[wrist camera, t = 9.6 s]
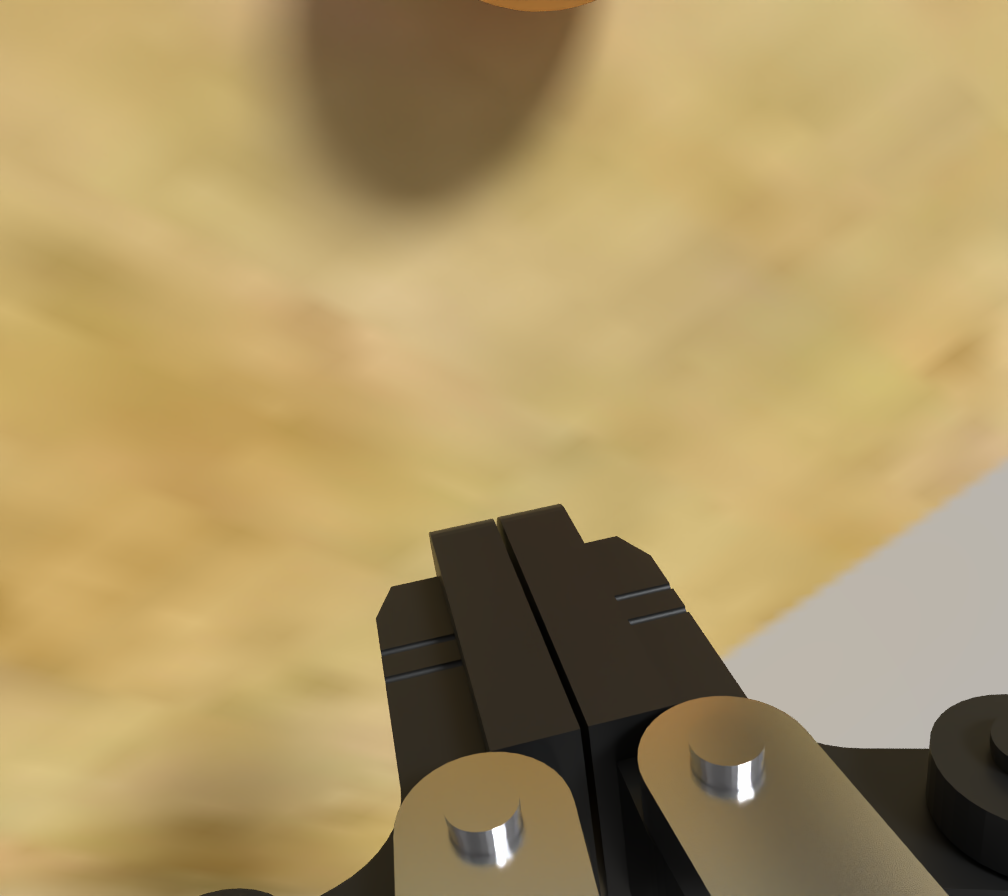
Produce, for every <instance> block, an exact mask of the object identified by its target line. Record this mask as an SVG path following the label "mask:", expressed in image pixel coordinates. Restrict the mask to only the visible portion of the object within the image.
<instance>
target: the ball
mask: <svg viewBox="0 0 1008 896" xmlns="http://www.w3.org/2000/svg"><path fill="white" fill-rule="evenodd" d="M480 1H483V2H486V3H489V4H492V5H495V6H500V7H505V8H509V9H514V10H521V11H532V12H536V11H553V10H563V9H568V8H573V7H577V6H580V5H584V4H587V3H590V2H593V1H595V0H480Z"/></svg>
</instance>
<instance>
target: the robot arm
mask: <svg viewBox="0 0 1008 896" xmlns="http://www.w3.org/2000/svg"><path fill="white" fill-rule="evenodd" d="M429 537H430V543H431V549H432V554H433V560H434V565H435V570H436V575H437V577H433V578H429V579H424V580H420V581H415V582H411V583H406V584H402V585H397V586H393V587H391V588H390V590H389V593H388V595H387V597H386V599H385V601H384V603H383V605H382V607H381V609H380V611H379V613H378V615H377V617H376V622H377V629H378V636H379V643H380V650H381V655H382V663H383V670H384V677H385V682H386V691H387V698H388V705H389V711H390V718H391V725H392V732H393V739H394V746H395V753H396V760H397V766H398V773H399V780H400V787H401V805H400V808H399V810H398V813H397V816H396V820H395V823H394V829H393V830H392V832H391V834H390V836H389V838H388V840H387V841H386V842H385V844H384V845H383V846H382V848H381V849H380V851H379V852H378V853H377V854H376V855H375V856H374V857H373V858H372V859H371V860H370V861H369V863H368V864H367V865H366V866H364V867H363V868H362V869H361V870H359V871H358V872H357V873H356V874H355V875H353V876H352V877H351V878H349V879H348V880H346V881H344V882H343V883H341V884H340V885H338V886H337V887H335V888H333V889H331V890H330V891H328V892H326V893H324V894H323V895H321V896H1008V695H1007V694H1001V695H986V696H980V697H975V698H971V699H968V700H965V701H962V702H960V703H958V704H956V705H954V706H952V707H950V708H949V709H947V710H946V711H945V712H944V713H942V714H941V716H940V717H939V718H938V719H937V720H936V722H935V723H934V726H933V728H932V731H931V735H930V746H929V749H860V748H843V747H837V746H830V745H824V744H821V743H817V742H816V741H815V740H814V739H813V738H812V736H811V735H810V734H809V733H808V732H807V731H806V730H805V729H804V728H803V727H802V726H801V725H800V724H799V723H798V722H797V721H796V720H795V719H793V718H792V717H791V716H789V715H788V714H786V713H785V712H783V711H781V710H779V709H777V708H775V707H773V706H771V705H768V704H765V703H763V702H760V701H756V700H752V699H748V698H747V697H746V695H745V694H744V692H743V691H742V689H741V688H740V686H739V685H738V683H737V682H736V680H735V679H734V678H733V676H732V675H731V673H730V672H729V671H728V669H727V667H726V666H725V664H724V663H723V661H722V660H721V658H720V657H719V655H718V654H717V653H716V651H715V650H714V648H713V647H712V645H711V644H710V642H709V641H708V639H707V638H706V636H705V635H704V633H703V632H702V630H701V629H700V627H699V626H698V625H697V623H696V622H695V620H694V619H693V617H692V616H691V614H690V613H689V612H686V609H685V605H684V604H683V602H682V601H681V600H680V598H679V597H678V595H677V594H676V592H675V591H674V589H671V588H670V585H669V582H668V580H667V579H666V577H665V576H664V575H663V573H662V572H661V570H660V569H659V567H658V566H657V564H656V563H655V561H654V560H653V558H652V557H651V556H650V555H649V554H647V553H645V552H643V551H642V550H640V549H638V548H636V547H635V546H633V545H631V544H630V543H628V542H626V541H624V540H623V539H621V538H619V537H617V536H615V537H611V538H606V539H602V540H597V541H593V542H588V543H584V542H583V540H582V538H581V536H580V535H579V533H578V531H577V529H576V528H575V526H574V524H573V522H572V521H571V519H570V517H569V515H568V513H567V512H566V510H565V508H564V507H563V506H562V505H561V504H557V505H552V506H547V507H543V508H538V509H534V510H529V511H524V512H520V513H515V514H511V515H506V516H501V517H498V518H497V526H496V524H495V521H494V520H493V519H489V520H484V521H480V522H475V523H470V524H466V525H461V526H457V527H452V528H447V529H443V530H438V531H434V532H429ZM201 896H273V895H271V894H269V893H265V892H262V891H258V890H252V889H226V890H220V891H215V892H211V893H206V894H204V895H201Z"/></svg>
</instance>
